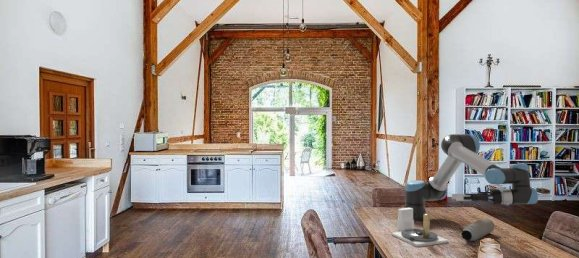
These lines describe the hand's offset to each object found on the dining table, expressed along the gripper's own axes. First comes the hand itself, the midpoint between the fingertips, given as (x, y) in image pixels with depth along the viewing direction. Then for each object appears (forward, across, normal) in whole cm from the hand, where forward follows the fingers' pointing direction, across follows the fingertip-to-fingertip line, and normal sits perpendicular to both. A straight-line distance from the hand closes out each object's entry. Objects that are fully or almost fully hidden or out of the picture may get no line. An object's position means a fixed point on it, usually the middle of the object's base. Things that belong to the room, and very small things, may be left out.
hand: (453, 197), depth 187 cm
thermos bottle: (-20, +28, -18) cm, 39 cm away
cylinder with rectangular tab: (+24, +20, -19) cm, 37 cm away
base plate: (+18, +5, -21) cm, 28 cm away
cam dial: (+18, +5, -20) cm, 27 cm away
